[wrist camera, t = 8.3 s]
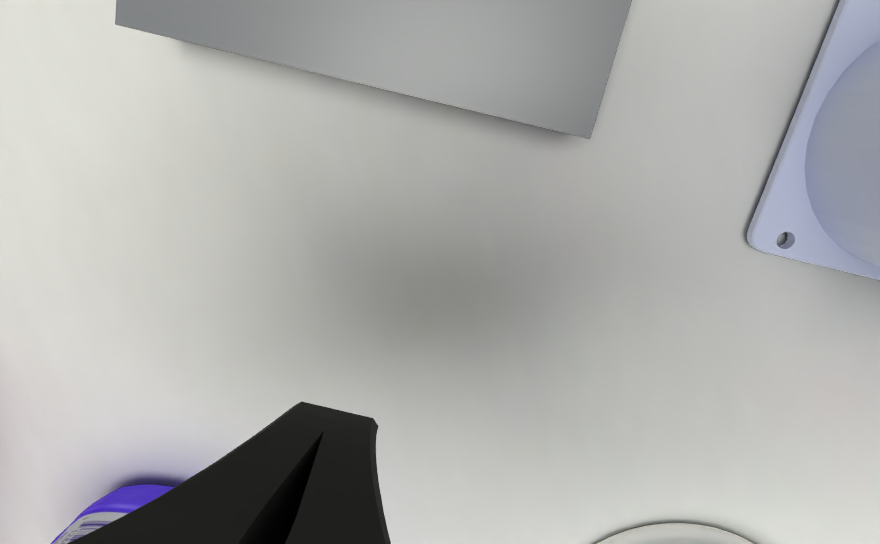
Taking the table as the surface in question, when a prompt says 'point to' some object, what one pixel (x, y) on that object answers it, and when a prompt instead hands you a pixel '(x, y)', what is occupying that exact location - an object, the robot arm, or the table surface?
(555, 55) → the console
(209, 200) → the table surface
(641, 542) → the white ridged round container
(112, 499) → the bottle
